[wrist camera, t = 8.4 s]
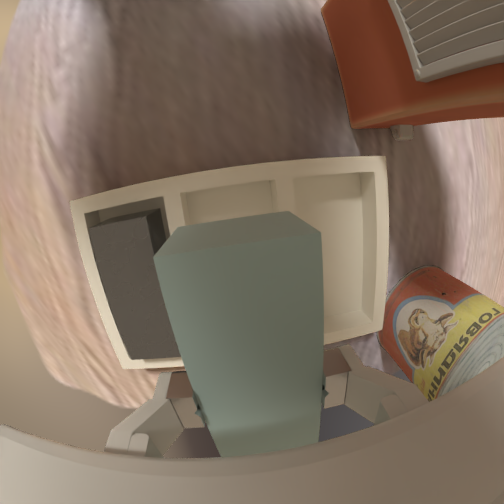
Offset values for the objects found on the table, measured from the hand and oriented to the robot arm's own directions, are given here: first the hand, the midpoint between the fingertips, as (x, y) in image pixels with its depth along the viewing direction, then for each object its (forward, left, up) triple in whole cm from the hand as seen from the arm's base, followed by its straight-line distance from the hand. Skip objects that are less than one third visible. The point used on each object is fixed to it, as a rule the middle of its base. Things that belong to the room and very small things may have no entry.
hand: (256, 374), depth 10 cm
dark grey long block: (0, -8, -13) cm, 15 cm away
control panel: (-17, +13, -14) cm, 25 cm away
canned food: (+9, +19, -14) cm, 25 cm away
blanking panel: (0, 0, -3) cm, 3 cm away
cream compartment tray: (0, 0, -13) cm, 13 cm away
